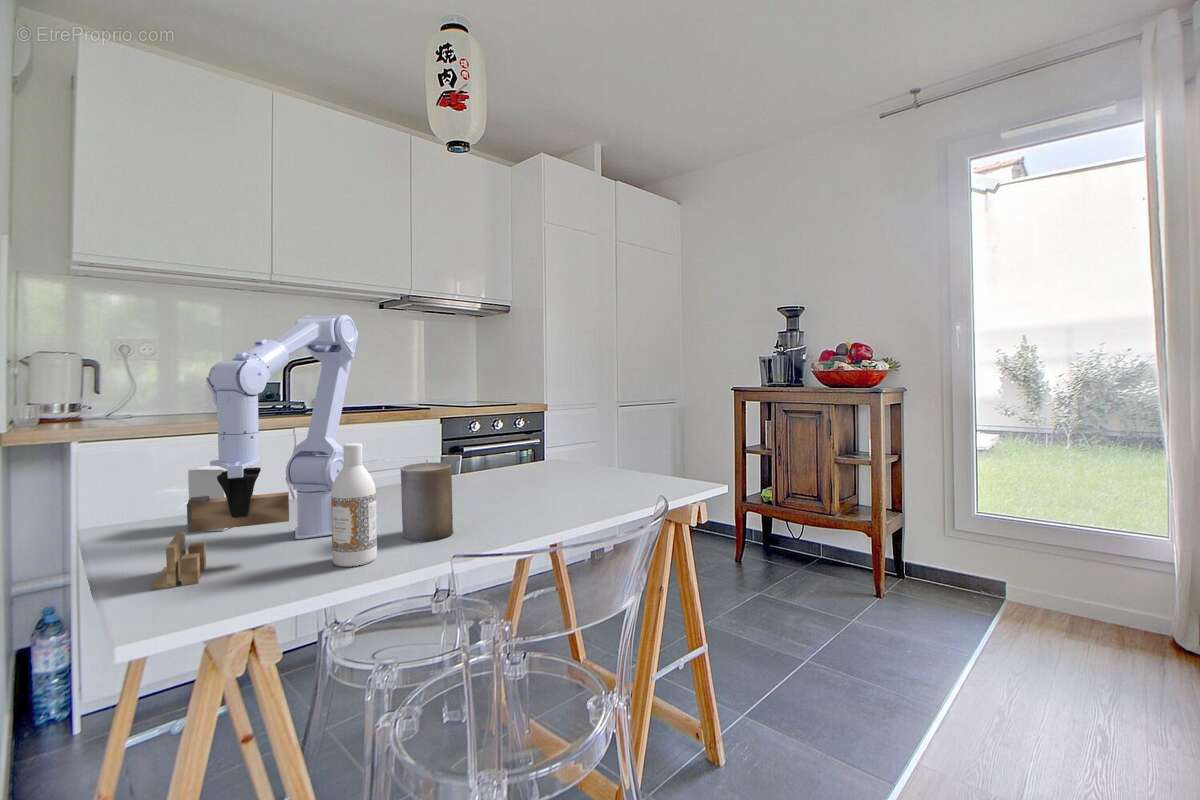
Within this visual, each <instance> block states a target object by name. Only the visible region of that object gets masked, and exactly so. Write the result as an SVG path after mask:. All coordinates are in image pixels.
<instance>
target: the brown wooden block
mask: <svg viewBox="0 0 1200 800" xmlns="http://www.w3.org/2000/svg"><path fill="white" fill-rule="evenodd" d="M186 514H187V515H186V519H187V520H186V524H187V533H196V532H207V531H206V530H215V529H224V528H228V529H232V528H241V527H248V526H249V527H251V526H258V525H268V524H269V525H270V524H276V523H277V524H278V523H286V522H290V495H289V491H285V492H284V491H283V492H274V493H263V494H262V493H261V494H253V495H251V500H250V507H249V512H248V515H247V517H237V518H232V516H231V513H230V509H229V505H228V501H227V498H226V497H225V498H213V499H209V496H201V497H191V498H190V500H189V499H188V501H187V503H186Z"/></svg>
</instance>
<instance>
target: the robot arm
mask: <svg viewBox="0 0 1200 800" xmlns="http://www.w3.org/2000/svg"><path fill="white" fill-rule="evenodd" d="M357 329H358V328H357V327H356V324H355V322H354V320H353V319H352V317H351V316H349V315H348V314H341V315H303V316H302V317H300V318H299V319H296V320H295V324H294V326H292V327H291V328H289V329H288V330H286V331H285V333H283V334H282V335H280V336H279V337H278V338H276V339H269V338H268V339H266V338H258V339H256V340H255V341H254V345H252V346H251V347H249V348H248V349H246V350H245V351H238V352H237V353H236V354H235V357H233V358H232V359H231V360H220V361H218V362H216V363H215V364H214V365H213V366H212V367H211V368H210V369H209V373H208V376H207V377H205V381H206V386H207V387H208V389H209V391H210V392H211V393H212V396H213V398H212V400H213V403H214V405H215V406H216V417H217V418H216V419H217V451H218V454H217V455H218V456H217V457H218V459H213V460H210V461H209V465H210V466H219V467H222V468H224V469H227V471H223V472H222V473H221V475H218V476H217V480H218V482H219V484H220V485H221V487H222V488H223V490H224V492H225V495H226V498H227V501H228V505H229V509H230V513H231V516H232V518H237V517H247V515H248V512H249V507H250V500H251V495H254V489H255V484H256V481H257V480H258V478H259V475H260V473H261V471H262V470H261V469H262V468H261V467H259V466H258V467H253V466H257V465H259V464H261V463H262V458H261V457H260V456H261V455H260V432H259V431H260V430H259V429H260V427H259V426H260V425H259V419H260V418H259V394H260V393H263V391H264V390H265V388H266V385H267V382H268V380H270V378H271V377H273V376H274V375H275V374H277V373H278V372H279V371H281V370H282V369H283V368H285V367H287V365H289V360H290V358H289V357H290V356H291V355H293V354H295V353H297V352H298V351H300V350H302V349H303V348H305V349H307V351H308V352H309V354H311V356H312V357H313V358H314V359H315V360H317V361H319V363H321V370H320V373H319V378H318V379H319V380H318V383H317V388H316V393H315V398H314V401H313V402H314V404H313V407H312V413H311V417H310V422H309V426H308V432H307V436H306V438H305V439H304V440H303V441H301V442H300V443H298V444H297V445H296V446H294V448H293V451H292V454H291V457H290V459H289V460H288V462H287V463H286V468H285V476H286V479H287V482H288V484H290V485H291V486H292V490H293V491H296V513H297V514H296V515H297V516H296V521H297V523H296V525H297V527H295V528H294V529H295V532H294V533H295V534H294V535H295V537H294V538H295V540H302V539H303V540H304V539H309V538H317V537H327V536H332V513H331V492H332V487H333V483H334V481H335V479H336V477H337V476H338V474H339V473H340V471H341V470H342V468H343V467H344V455H343V447H342V446H341V445H340V444H339V443H338V442H337V437H338V431H339V427H340V422H341V421H340V420H341V418H342V417H341V416H342V411H343V407H344V401H345V396H346V390H347V387H348V381H349V380H348V379H349V375H350V371H351V364H352V360H353V359H354V357H355V353H356V347H357V342H358V338H359V332H358V330H357Z"/></svg>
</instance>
